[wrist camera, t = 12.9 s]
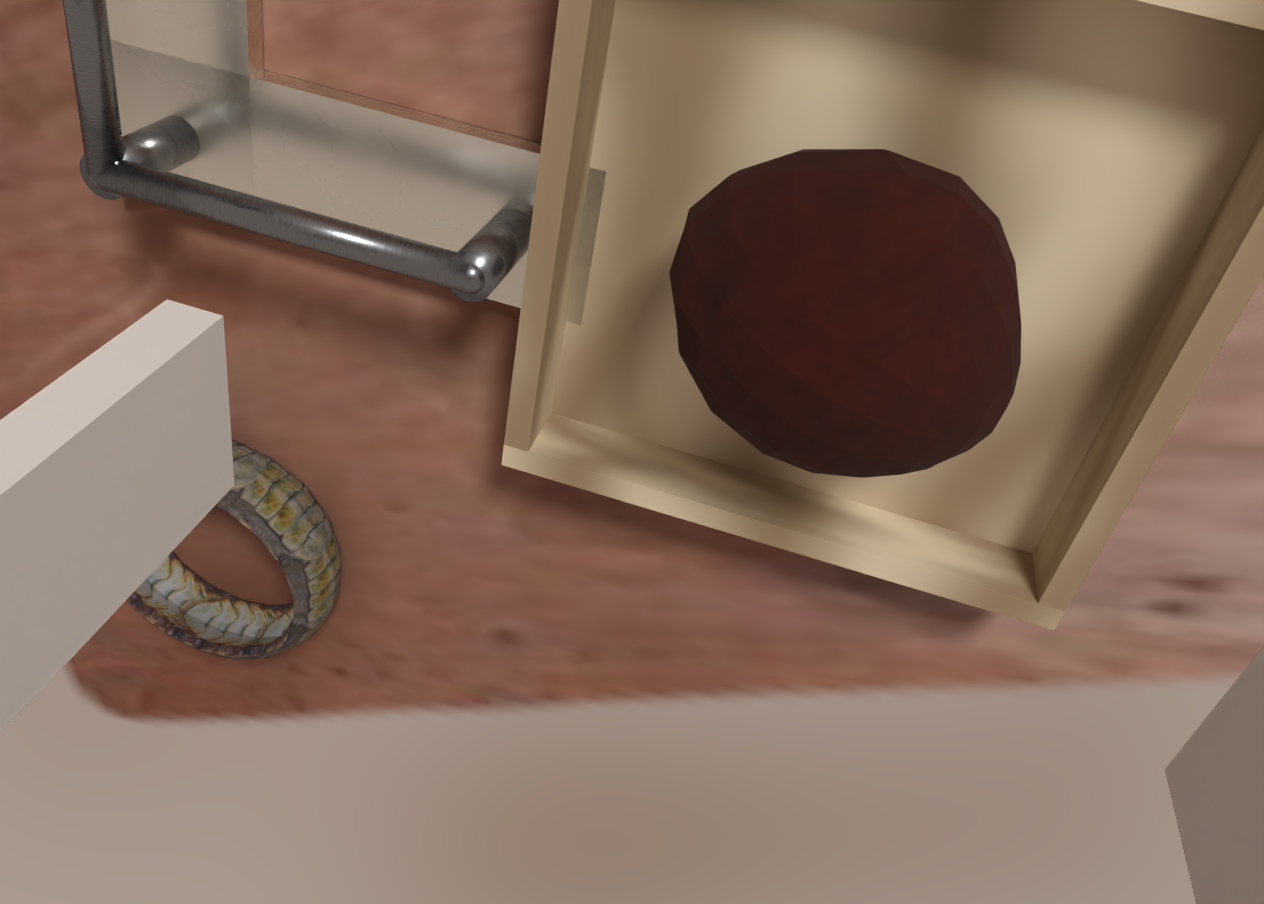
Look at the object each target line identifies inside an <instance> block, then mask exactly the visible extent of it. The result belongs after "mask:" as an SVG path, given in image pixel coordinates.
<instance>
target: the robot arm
mask: <svg viewBox="0 0 1264 904" xmlns="http://www.w3.org/2000/svg"><path fill="white" fill-rule="evenodd" d="M233 486H234V470H233V455H232V440H231V425H230V410H229V395H228V380H227V365H226V349H225V334H224V319H223V316H222V315H219V314H215V313H212V312H208V311H205V310H201V309H198V308H195V307H191V306H188V305H184V304H181V303H177V302H174V301H171V300H166V301H164V302H163V303H162V304H160V305H159V306H157V307H156V308H155V309H153V310H152V311H150V312H149V313H148V314H146V315H145V316H144V317H142V318H141V319H139V320H138V321H137V322H135V323H134V324H133V325H131V326H130V327H128V328H127V329H126V330H124V331H123V332H121V333H120V334H119V335H117V336H116V337H115V338H113V339H112V340H110V341H109V342H108V343H106V344H105V345H104V346H102V347H101V348H99V349H98V350H97V351H95V352H94V353H92V354H91V355H90V356H88V357H87V358H86V359H84V360H83V361H81V362H80V363H79V364H77V365H76V366H75V367H73V368H72V369H70V370H69V371H68V372H66V373H65V374H63V375H62V376H61V377H59V378H58V379H57V380H55V381H54V382H52V383H51V384H50V385H48V386H47V387H45V388H44V389H43V390H41V391H40V392H39V393H37V394H36V395H34V396H33V397H32V398H30V399H29V400H28V401H26V402H25V403H23V404H22V405H21V406H19V407H18V408H16V409H15V410H14V411H12V412H11V413H10V414H8V415H7V416H5V417H4V418H3V419H1V420H0V733H1V732H2V731H3V730H4V729H5V728H6V727H7V726H8V725H9V724H10V723H11V722H12V721H13V720H14V719H15V718H16V716H17V715H18V714H19V713H20V712H21V711H22V710H23V709H24V708H25V707H26V706H27V705H28V704H29V703H30V702H31V701H32V699H33V698H34V697H35V696H36V695H37V694H38V693H39V692H40V691H41V690H42V689H43V688H44V687H45V686H46V685H47V684H48V683H49V681H50V680H51V679H52V678H53V677H54V676H55V675H56V674H57V673H58V672H59V671H60V670H61V669H62V668H63V667H64V666H65V664H66V663H67V662H68V661H69V660H70V659H71V658H72V657H73V656H74V655H75V654H76V653H77V652H78V651H79V650H80V649H81V647H82V646H83V645H84V644H85V643H86V642H87V641H88V640H89V639H90V638H91V637H92V636H93V635H94V634H95V633H96V632H97V630H98V629H99V628H100V627H101V626H102V625H103V624H104V623H105V622H106V621H107V620H108V619H109V618H110V617H111V616H112V615H113V613H114V612H115V611H116V610H117V609H118V608H119V607H120V606H121V605H122V604H123V603H124V602H125V601H126V600H127V599H128V598H129V596H130V595H131V594H132V593H133V592H134V591H135V590H136V589H137V588H138V587H139V586H140V585H141V584H142V583H143V582H144V581H145V580H146V578H147V577H148V576H149V575H150V574H151V573H152V572H153V571H154V570H155V569H156V568H157V567H158V566H159V565H160V564H161V563H162V561H163V560H164V559H165V558H166V557H167V556H168V555H169V554H170V553H171V552H172V551H173V550H174V549H175V548H176V547H177V546H178V544H179V543H180V542H181V541H182V540H183V539H184V538H185V537H186V536H187V535H188V534H189V533H190V532H191V531H192V530H193V529H194V527H195V526H196V525H197V524H198V523H199V522H200V521H201V520H202V519H203V518H204V517H205V516H206V515H207V514H208V513H209V512H210V510H211V509H212V508H213V507H214V506H215V505H216V504H217V503H218V502H219V501H220V500H221V499H222V498H223V497H224V496H225V495H226V493H227V492H228V491H229V490H230V489H231V488H232V487H233ZM1165 772H1166V776H1167V781H1168V785H1169V789H1170V794H1171V798H1172V802H1173V806H1174V811H1175V815H1176V819H1177V823H1178V828H1179V832H1180V836H1181V841H1182V845H1183V849H1184V854H1185V858H1186V862H1187V866H1188V870H1189V875H1190V879H1191V884H1192V888H1193V892H1194V896H1195V901H1196V904H1264V647H1263V648H1262V649H1261V650H1260V652H1259V653H1258V654H1257V655H1256V657H1255V658H1254V659H1253V660H1252V662H1251V663H1250V664H1249V665H1248V666H1247V668H1246V669H1245V670H1244V671H1243V673H1242V674H1241V675H1240V676H1239V678H1238V679H1237V680H1236V681H1235V683H1234V684H1233V685H1232V686H1231V688H1230V689H1229V690H1228V691H1227V693H1226V694H1225V695H1224V696H1223V698H1222V699H1221V700H1220V701H1219V703H1218V704H1217V705H1216V706H1215V708H1214V709H1213V710H1212V711H1211V712H1210V714H1209V715H1208V716H1207V717H1206V719H1205V720H1204V721H1203V722H1202V724H1201V725H1200V726H1199V727H1198V729H1197V730H1196V731H1195V732H1194V734H1193V735H1192V736H1191V737H1190V739H1189V740H1188V741H1187V742H1186V744H1185V745H1184V746H1183V747H1182V749H1181V750H1180V751H1179V752H1178V754H1177V755H1176V756H1175V757H1174V758H1173V760H1172V761H1171V762H1170V764H1169V765H1168V766H1167V767H1166V769H1165Z"/></svg>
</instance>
